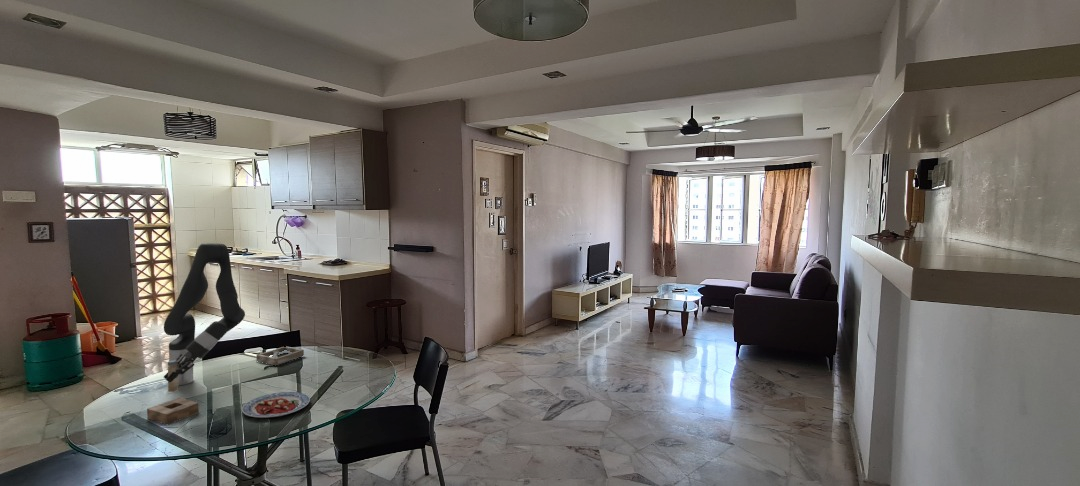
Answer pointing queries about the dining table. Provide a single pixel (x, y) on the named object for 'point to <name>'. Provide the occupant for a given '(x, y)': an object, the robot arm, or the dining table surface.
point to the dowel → (174, 384)
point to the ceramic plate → (275, 404)
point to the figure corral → (275, 361)
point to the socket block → (172, 410)
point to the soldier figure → (275, 354)
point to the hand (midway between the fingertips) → (166, 379)
